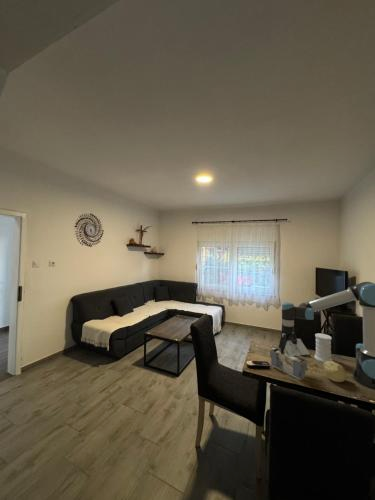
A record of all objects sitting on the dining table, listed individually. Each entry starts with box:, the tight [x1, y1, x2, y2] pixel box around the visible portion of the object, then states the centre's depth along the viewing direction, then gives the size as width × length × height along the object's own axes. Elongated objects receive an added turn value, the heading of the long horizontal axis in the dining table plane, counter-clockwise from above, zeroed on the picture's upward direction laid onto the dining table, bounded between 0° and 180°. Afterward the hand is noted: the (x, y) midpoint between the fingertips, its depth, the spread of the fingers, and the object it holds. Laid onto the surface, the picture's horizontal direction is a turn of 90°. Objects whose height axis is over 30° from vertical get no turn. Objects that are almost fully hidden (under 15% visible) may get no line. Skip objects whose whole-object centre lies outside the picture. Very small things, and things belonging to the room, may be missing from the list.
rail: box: [276, 350, 302, 367], centre depth 146 cm, size 17×4×4 cm, turn 36°
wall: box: [285, 338, 311, 357], centre depth 175 cm, size 16×9×15 cm
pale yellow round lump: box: [322, 360, 347, 383], centre depth 137 cm, size 12×12×11 cm
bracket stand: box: [269, 347, 308, 381], centre depth 146 cm, size 22×9×11 cm, turn 35°
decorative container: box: [314, 332, 333, 363], centre depth 163 cm, size 12×12×18 cm
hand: (288, 355), depth 146 cm, fingers open, 13 cm apart
